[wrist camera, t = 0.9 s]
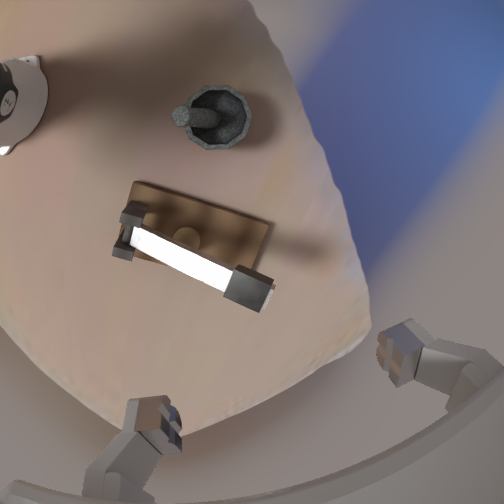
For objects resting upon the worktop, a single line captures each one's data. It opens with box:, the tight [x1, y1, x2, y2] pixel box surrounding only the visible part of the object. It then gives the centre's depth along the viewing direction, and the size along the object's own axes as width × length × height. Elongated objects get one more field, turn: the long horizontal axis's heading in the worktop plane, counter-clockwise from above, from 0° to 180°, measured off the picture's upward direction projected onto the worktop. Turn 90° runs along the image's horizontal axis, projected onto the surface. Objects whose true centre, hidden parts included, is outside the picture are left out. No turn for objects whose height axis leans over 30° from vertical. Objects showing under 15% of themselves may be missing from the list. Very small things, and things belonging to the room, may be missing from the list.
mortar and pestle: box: [171, 86, 252, 150], centre depth 36 cm, size 11×9×12 cm
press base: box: [112, 181, 269, 269], centre depth 43 cm, size 24×12×10 cm, turn 68°
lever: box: [130, 224, 276, 313], centre depth 36 cm, size 21×4×3 cm, turn 67°
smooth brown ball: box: [173, 227, 200, 249], centre depth 43 cm, size 4×4×4 cm
